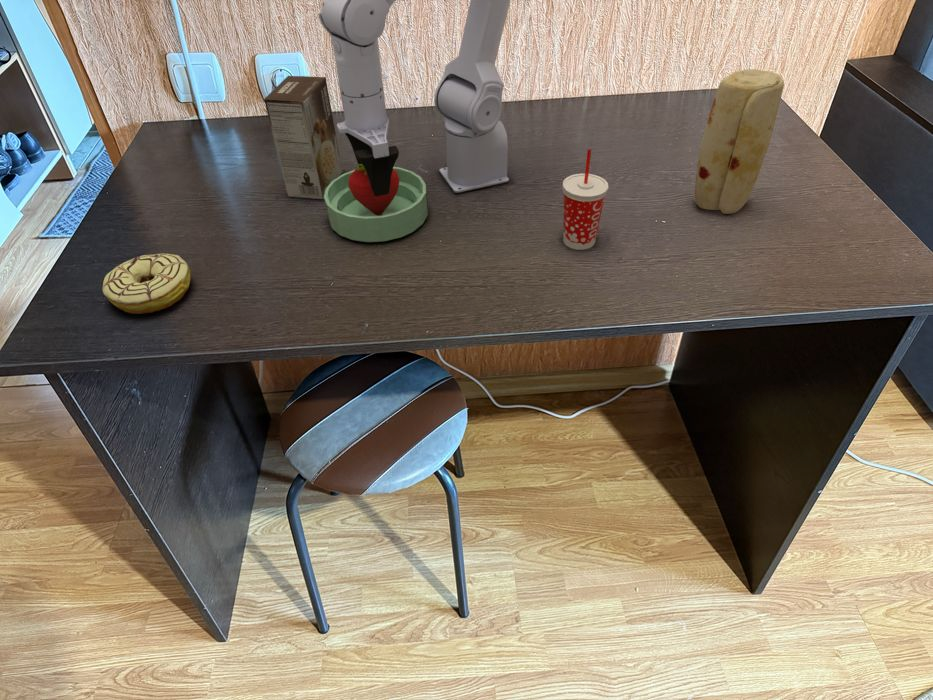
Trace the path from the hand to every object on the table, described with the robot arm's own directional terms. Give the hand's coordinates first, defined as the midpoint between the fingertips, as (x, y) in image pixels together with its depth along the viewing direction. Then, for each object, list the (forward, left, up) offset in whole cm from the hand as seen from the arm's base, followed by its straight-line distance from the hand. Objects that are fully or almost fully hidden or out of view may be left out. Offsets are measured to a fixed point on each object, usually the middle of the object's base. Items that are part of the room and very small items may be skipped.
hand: (374, 181), depth 95 cm
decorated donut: (+33, +7, -6) cm, 34 cm away
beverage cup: (-25, +18, -6) cm, 31 cm away
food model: (-49, +18, -6) cm, 52 cm away
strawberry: (0, 0, -6) cm, 6 cm away
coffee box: (+7, -13, -6) cm, 16 cm away
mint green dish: (0, 0, -6) cm, 6 cm away
